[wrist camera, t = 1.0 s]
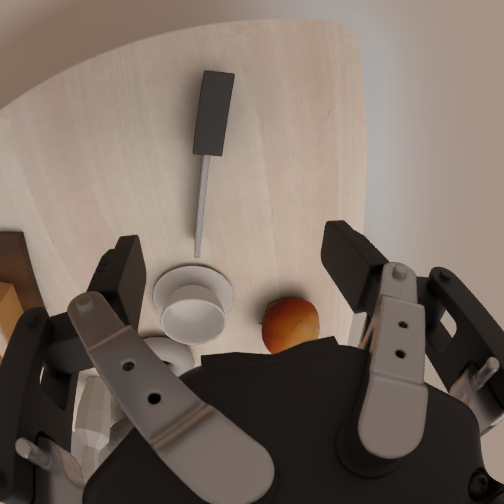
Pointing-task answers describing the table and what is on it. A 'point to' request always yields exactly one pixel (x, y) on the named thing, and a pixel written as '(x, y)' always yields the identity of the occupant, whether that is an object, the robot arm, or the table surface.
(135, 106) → the table surface
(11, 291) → the orange u-shaped channel
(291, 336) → the fruit
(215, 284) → the teacup
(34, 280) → the board
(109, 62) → the table surface
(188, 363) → the donut
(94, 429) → the faceted bottle
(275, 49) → the table surface
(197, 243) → the kitchen blade
